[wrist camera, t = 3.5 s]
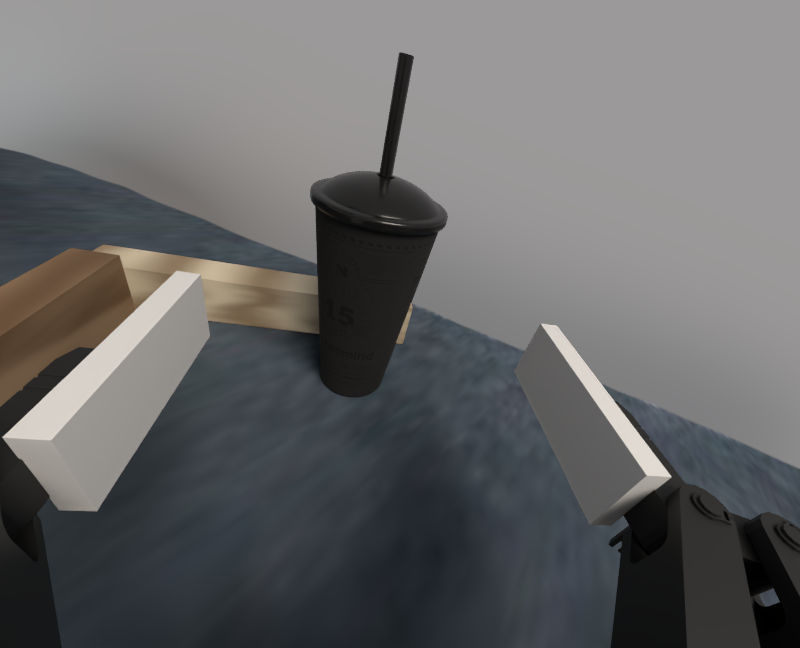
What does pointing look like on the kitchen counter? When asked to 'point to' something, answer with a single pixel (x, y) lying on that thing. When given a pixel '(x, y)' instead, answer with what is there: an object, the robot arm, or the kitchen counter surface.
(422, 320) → the kitchen counter surface
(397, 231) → the drinking cup
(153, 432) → the kitchen counter surface
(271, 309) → the wooden l-shaped block
